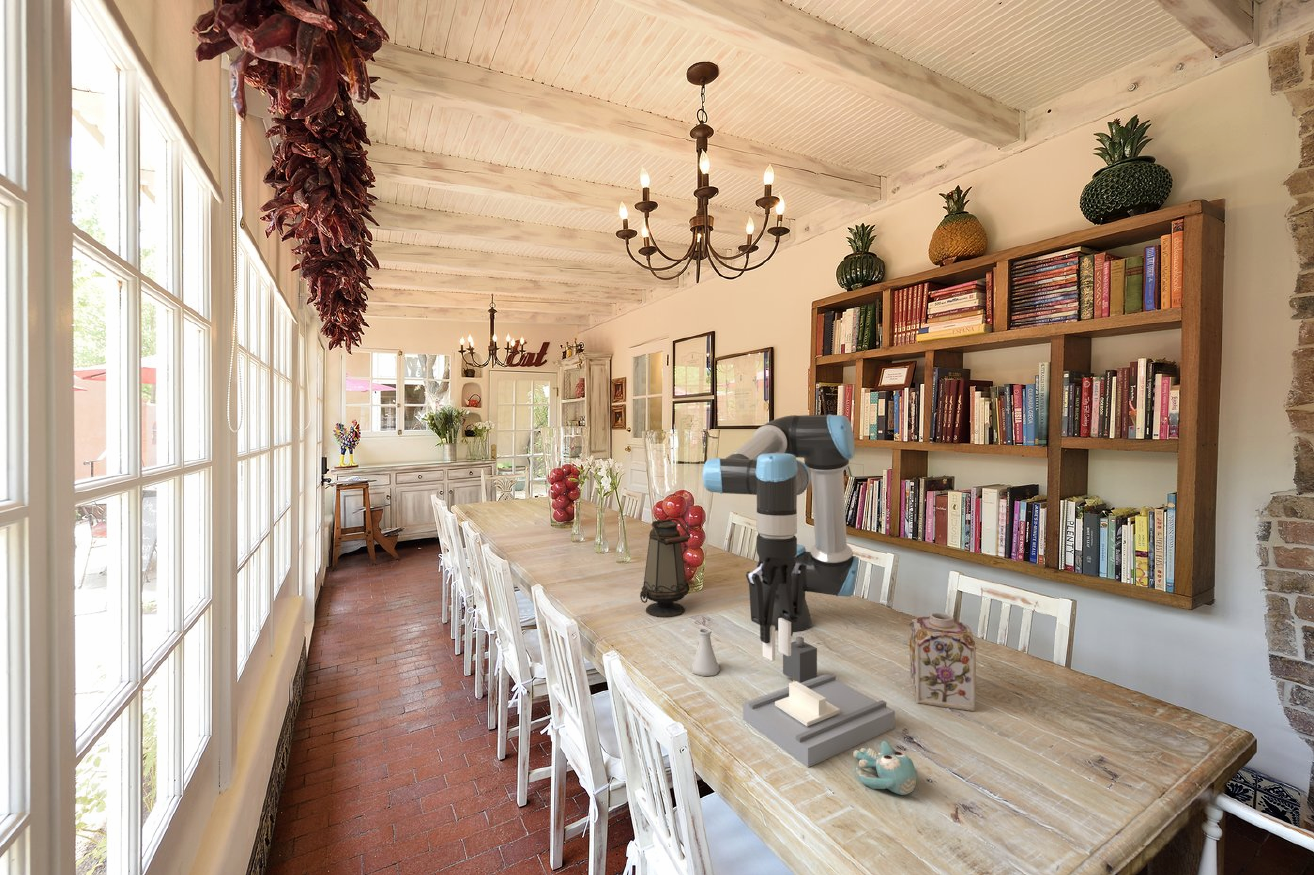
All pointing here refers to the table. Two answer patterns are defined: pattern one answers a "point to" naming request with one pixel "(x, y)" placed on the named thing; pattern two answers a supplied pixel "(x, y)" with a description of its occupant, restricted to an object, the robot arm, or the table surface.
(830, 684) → the grey railed block
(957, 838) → the table surface
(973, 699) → the decorative jar
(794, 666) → the plug
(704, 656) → the flask
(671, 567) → the lantern
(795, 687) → the white finned plate
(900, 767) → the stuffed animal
